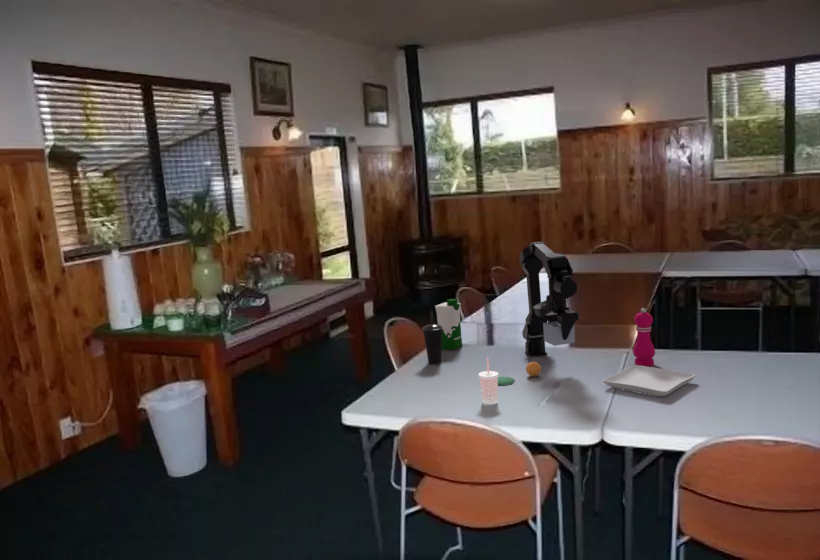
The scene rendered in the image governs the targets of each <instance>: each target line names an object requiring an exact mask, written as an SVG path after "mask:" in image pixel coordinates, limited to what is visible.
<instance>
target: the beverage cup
mask: <svg viewBox="0 0 820 560" xmlns="http://www.w3.org/2000/svg"><path fill="white" fill-rule="evenodd" d="M489 361H490V360H489V357H486V365H487V368H486V369H487V370H483V371H481V372H479V373H478V375H477V376H478V378H479V382H480V383H479V384H480V391H481V392H480V393H481V401H482V404H484V405H495V404H497V403H498V402H499V401H498V399H499V397H498V393H499V392H498V391H499V390H498V389H499V388H498V387H499V386H498V377H499V372H497V371H493V370H490V366H489V365H490V364H489Z"/></svg>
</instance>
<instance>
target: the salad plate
mask: <svg viewBox="0 0 820 560" xmlns="http://www.w3.org/2000/svg"><path fill="white" fill-rule="evenodd" d="M695 377H696V374H694V373H689V372H683V371H678V370H673V369H665V368H659V367H652V366H650V367H646V366H639V365H635V364H633V365H630V366H629V367H626V368H625V369H623V370H620V371H618V372H617V373H614V374H612V375H610V376H608V377H606V378H604V379H603V380H602V381H603V383H604V384H605V385H606V386H608V387H611V388H614V389H618V390H621V389H624V390H623V391H626V390H629V391H628V392H631V391H635V392H634V393H636V392H641V393H646V394H645V395H647V394H651V395H650V396H653V395H656V396H655V397H665V396H667V395H668V394H671V393H673V392H674V391H675V390H677V389H679V388H681V387H683V386H685V385H687V384H688V383H690V382H692V381H693V380H694V379H695ZM641 393H640V394H641Z"/></svg>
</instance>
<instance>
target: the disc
mask: <svg viewBox="0 0 820 560" xmlns="http://www.w3.org/2000/svg"><path fill="white" fill-rule="evenodd" d="M515 382H516V381H515V378H513V377H509V376H498V387H499V386H500V387H502V386H509V385H512V384H514V383H515Z"/></svg>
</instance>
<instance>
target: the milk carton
mask: <svg viewBox="0 0 820 560" xmlns="http://www.w3.org/2000/svg"><path fill="white" fill-rule="evenodd" d="M461 305H462V303H461V302H458V299H457V298H448V299H446V301H445V302H441V303H440V304H437V305H434V307H435V312H436V320H437V325H440V326H442V327H443V329H442V350H447V349H451V350H450V351H455V350H457V349H459V348H461V347H463V338H462V327H461ZM460 346H461V347H460ZM458 347H459V348H458ZM456 348H457V349H456ZM454 349H455V350H454Z"/></svg>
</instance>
